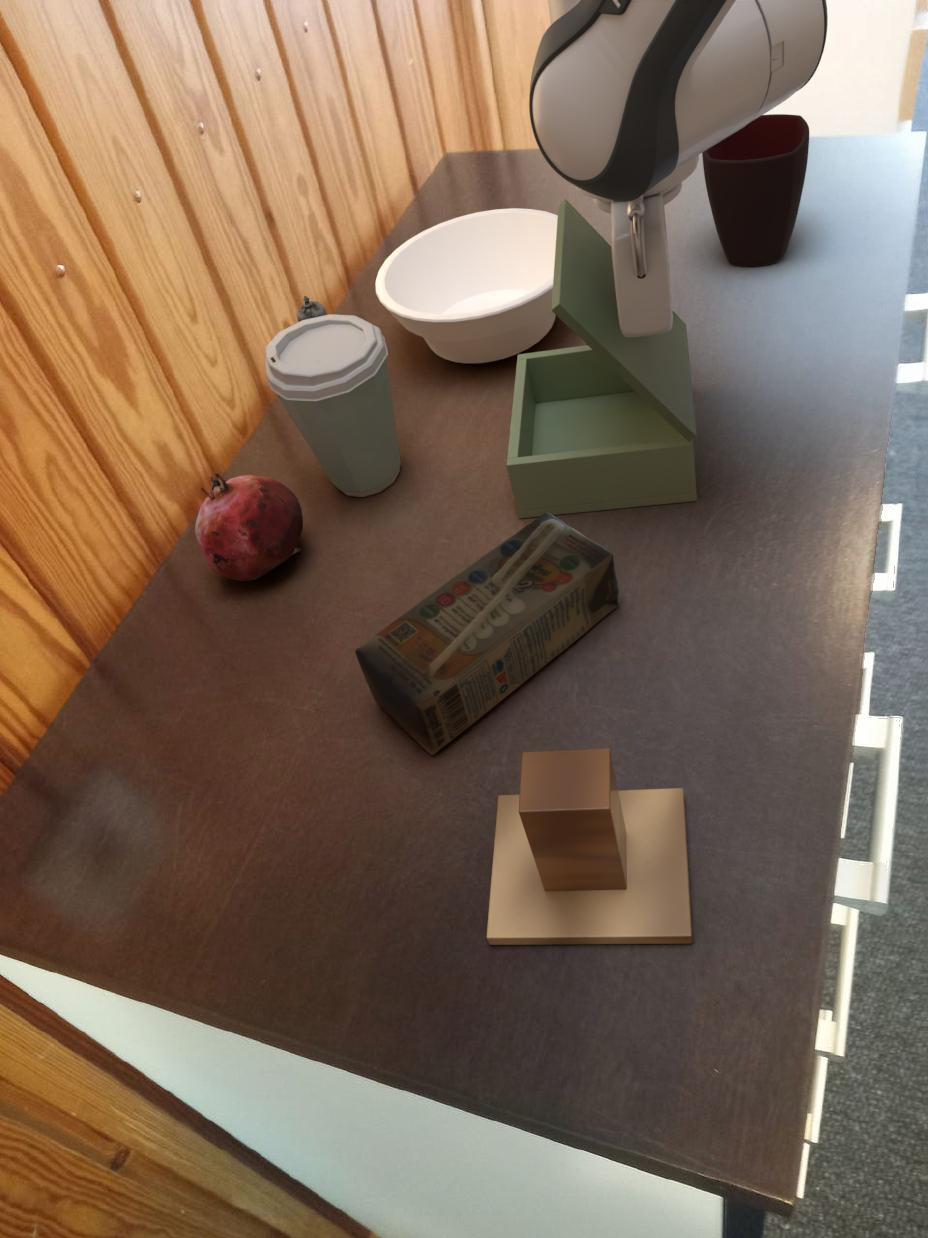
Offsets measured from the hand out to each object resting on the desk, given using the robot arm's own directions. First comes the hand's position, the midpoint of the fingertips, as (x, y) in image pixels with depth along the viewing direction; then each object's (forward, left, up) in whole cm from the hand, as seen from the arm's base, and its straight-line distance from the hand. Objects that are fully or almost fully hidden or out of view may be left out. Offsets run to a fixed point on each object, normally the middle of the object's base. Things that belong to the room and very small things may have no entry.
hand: (649, 321), depth 81 cm
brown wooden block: (+6, +41, -11) cm, 43 cm away
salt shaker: (+32, -13, -12) cm, 37 cm away
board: (+6, +41, -12) cm, 43 cm away
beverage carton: (+13, +23, -12) cm, 29 cm away
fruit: (+35, +10, -12) cm, 38 cm away
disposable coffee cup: (+27, 0, -12) cm, 30 cm away
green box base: (+5, 0, -12) cm, 13 cm away
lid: (+2, 0, 0) cm, 2 cm away
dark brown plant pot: (-11, -32, -12) cm, 36 cm away
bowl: (+17, -22, -12) cm, 30 cm away
